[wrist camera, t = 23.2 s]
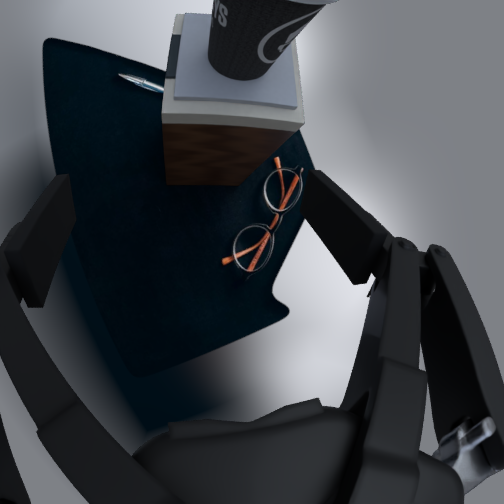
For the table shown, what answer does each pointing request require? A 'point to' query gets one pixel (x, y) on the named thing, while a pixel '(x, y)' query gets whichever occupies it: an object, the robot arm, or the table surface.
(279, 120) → the scale
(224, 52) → the coffee cup
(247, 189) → the table surface
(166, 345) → the table surface
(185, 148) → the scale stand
